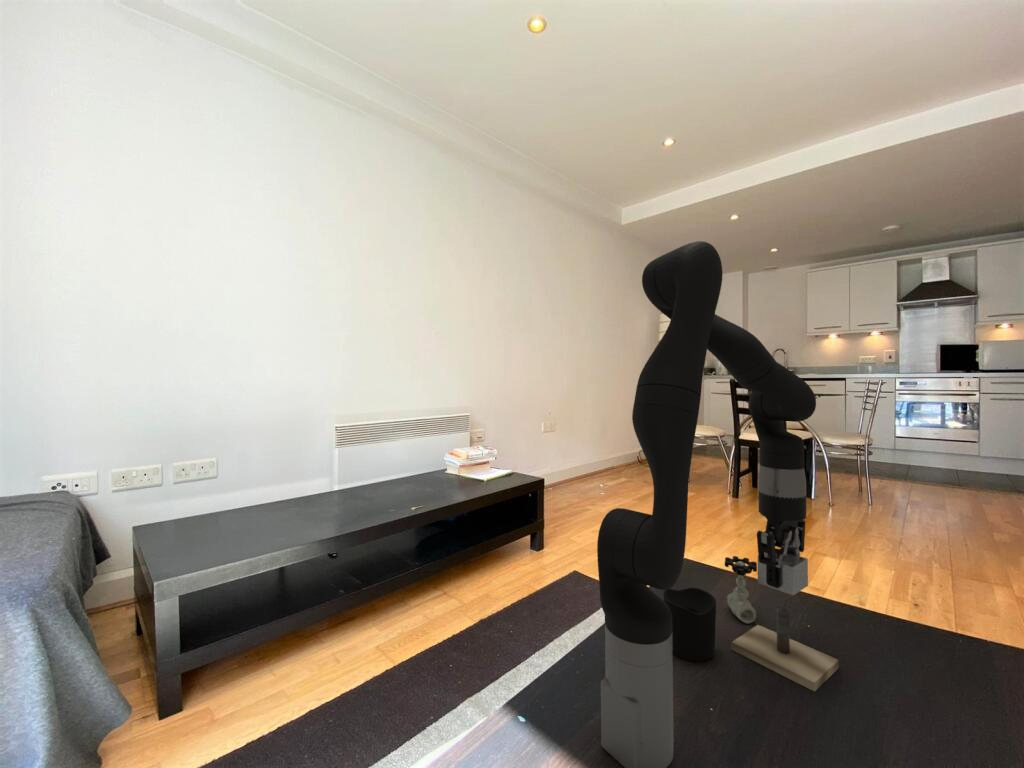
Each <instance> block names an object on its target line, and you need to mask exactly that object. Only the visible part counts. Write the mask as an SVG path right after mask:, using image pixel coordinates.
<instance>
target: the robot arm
mask: <svg viewBox="0 0 1024 768" xmlns="http://www.w3.org/2000/svg"><path fill="white" fill-rule="evenodd" d="M722 283H723V265H722V259H721V255H719V253H718V250H717V249H716V248H715V247H714V246H713V245H712V244H711V243H709V242H707V241H701V240H700V241H699V240H698V241H694V242H690V243H687V244H684V245H682V246H679V247H677V248H676V249H673V250H671V251H669V252H667V253H665V254H663V255H660V256H658V257H656V258H655V259H653V260H652V261H650V262H648V263H647V265H646V266H645V268H644V269H643V272H642V276H641V284H642V288H643V289H642V290H643V292H644V294H645V296H646V297H647V299H648V300H649V302H650V303H651V304H652V305H653V307H655V308H656V309H657V310H658V311H659V312H661V313H662V314H663V315H665V316H666V317H667V318H668V319H669V324H668V326H667V328H666V330H665V332H664V334H663V336H662V337H661V339H660V341H659V342H658V343H657V344H656V347H655V348H654V350H653V352H652V353H650V356H649V357H648V359H647V361H646V362H645V364H644V365H643V368H642V369H641V372H640V374H639V377H638V381H637V385H636V389H635V395H634V401H633V407H632V414H631V415H632V416H631V419H632V420H631V421H632V426H633V430H634V433H635V436H636V438H637V441H638V442H639V443H638V444H639V446H640V448H641V450H642V453H643V455H644V457H645V459H646V462H647V465H648V467H649V470H650V474H651V477H652V484H653V485H652V486H653V504H652V505H653V506H652V512H651V513H652V514H651V513H645V512H641V511H637V510H632V509H629V508H620V507H616V508H613V509H611V510H610V511H608V512H607V513H606V515H605V516H604V517H603V519H602V521H601V523H600V526H599V530H598V536H597V545H596V547H597V550H596V554H597V555H596V556H597V570H598V571H597V572H598V584H599V586H598V587H599V599H600V605H601V608H602V611H603V614H604V643H605V644H604V651H605V653H604V656H605V657H604V660H605V661H604V662H605V663H604V664H605V667H604V668H605V672H604V673H605V677H604V678H603V679H601V681H600V725H601V726H600V730H601V731H600V737H601V738H600V739H601V740H600V741H601V747H602V748H603V749H604V750H605V751H606V752H607V753H608V754H609V755H610V756H612V757H613V758H614V759H615V760H616V761H617V762H618V763H619V764H621V765H622V766H623V768H668V767H669V766H670V764H671V763H672V761H673V758H674V679H673V678H674V672H673V671H674V669H673V663H674V662H673V661H674V660H673V653H672V652H673V644H672V614H671V611H670V609H669V607H668V605H667V604H666V603H665V602H664V599H662V598H661V597H660V596H658V595H657V594H656V593H655V592H654V591H653V590H652V589H651V588H654V589H657V590H662V591H665V590H667V589H672V588H673V587H674V586H675V584H676V583H677V582H678V579H679V577H680V575H681V572H682V569H683V564H684V560H685V559H684V558H685V552H686V543H687V523H688V504H689V503H688V501H689V498H688V497H689V485H690V483H689V481H690V471H691V467H692V466H691V464H692V457H693V449H694V448H693V447H694V442H695V438H696V431H697V425H698V419H699V415H700V405H701V400H702V399H701V396H702V386H703V376H704V372H705V371H704V369H705V364H706V358H707V357H706V356H707V351H709V353H711V354H712V356H714V357H715V358H716V359H717V361H719V362H720V364H721V365H722V366H723V367H724V368H725V370H727V372H728V373H729V374H730V375H731V376H732V377H733V379H734V380H735V381H736V382H737V383H738V385H740V386H741V387H742V388H744V389H745V390H747V391H750V395H749V401H748V407H749V413H750V416H751V419H752V423H753V426H754V429H755V433H756V436H757V439H758V442H759V471H758V476H757V477H758V478H757V479H758V484H757V485H758V486H757V487H758V492H757V493H758V494H757V495H758V513H759V514H760V515H761V516H763V517H764V518H766V520H767V521H766V526H765V530H764V531H762V530H757V531H756V540H757V543H756V544H757V557H758V556H759V562H760V563H762V564H766V582H767V584H768V585H769V586H772V587H775V588H779V587H781V563H782V558H783V556H785V555H786V554H787V553H790V554H793V555H797V556H800V557H801V553H803V552H805V541H806V540H805V539H806V537H805V536H806V521H805V520H806V518H807V478H806V471H805V443H804V440H803V438H802V437H801V436H799V435H797V434H794V433H791V432H789V431H788V430H786V428H784V425H783V423H782V421H785V422H795V423H797V422H802V421H806V420H809V418H811V417H812V415H813V414H814V412H815V411H816V409H817V408H816V407H817V399H816V395H815V393H814V391H813V389H812V388H811V387H810V385H809V384H808V383H807V382H806V381H805V380H803V378H801V377H799V376H798V375H797V374H796V373H794V372H793V371H791V370H790V369H788V368H787V367H786V366H784V365H782V364H781V363H779V362H778V361H776V359H775V358H774V356H773V355H772V354H771V353H770V352H769V350H768V349H767V348H766V346H765V345H764V344H763V343H762V342H761V340H760V339H758V337H756V336H755V334H752V333H751V332H750V331H748V330H746V329H745V328H743V327H741V326H739V325H737V324H735V323H734V322H731V321H729V320H727V319H725V318H724V317H721V316H720V315H717V314H716V311H717V307H718V303H719V298H720V294H721V291H722V290H721V289H722ZM776 547H777V548H776ZM764 553H765V556H764ZM776 553H777V558H776Z"/></svg>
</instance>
